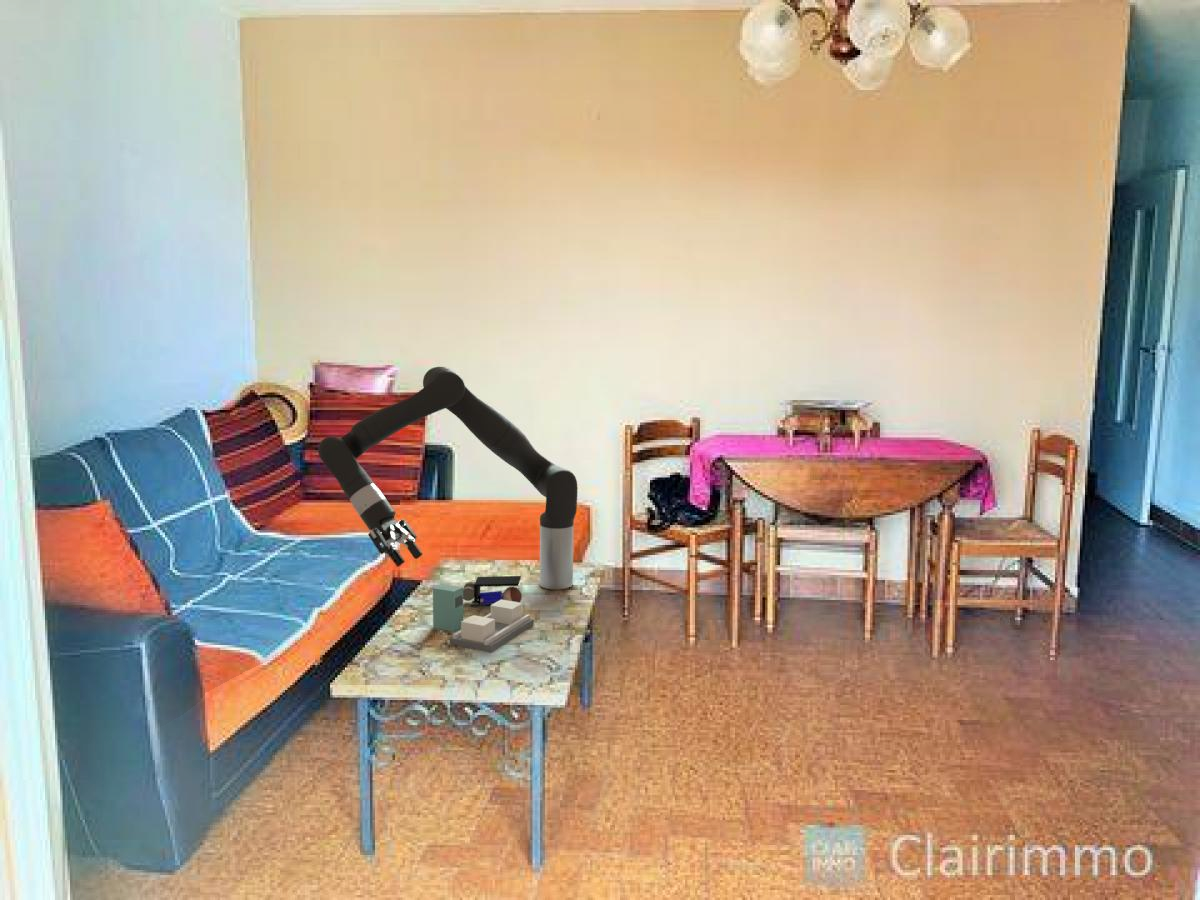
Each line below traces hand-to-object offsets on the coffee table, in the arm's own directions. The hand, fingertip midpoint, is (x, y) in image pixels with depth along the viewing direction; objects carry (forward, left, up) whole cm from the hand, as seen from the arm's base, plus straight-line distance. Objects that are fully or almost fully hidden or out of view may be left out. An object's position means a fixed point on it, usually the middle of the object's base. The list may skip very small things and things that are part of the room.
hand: (410, 560), depth 230 cm
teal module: (+6, +8, -16) cm, 19 cm away
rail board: (+14, +17, -16) cm, 27 cm away
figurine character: (-7, +22, -16) cm, 28 cm away
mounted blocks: (+14, +17, -14) cm, 26 cm away
